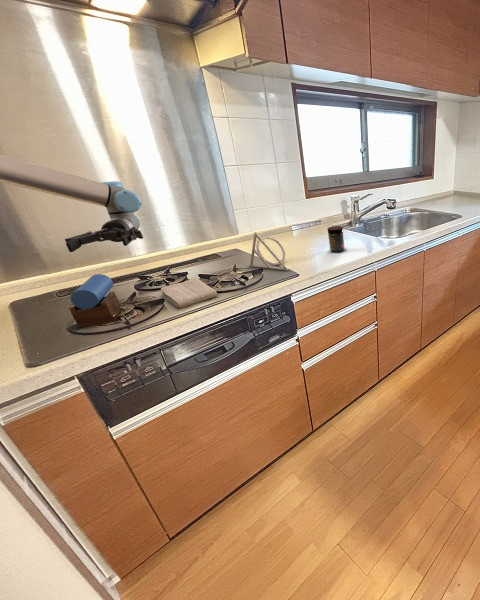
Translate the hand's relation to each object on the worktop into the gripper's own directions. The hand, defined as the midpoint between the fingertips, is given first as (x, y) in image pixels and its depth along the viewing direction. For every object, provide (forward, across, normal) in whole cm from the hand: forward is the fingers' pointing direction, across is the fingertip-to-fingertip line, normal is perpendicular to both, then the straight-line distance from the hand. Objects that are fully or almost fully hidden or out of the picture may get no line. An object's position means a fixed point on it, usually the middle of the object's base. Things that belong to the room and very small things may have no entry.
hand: (97, 244), depth 100 cm
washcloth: (+11, -22, -18) cm, 30 cm away
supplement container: (-14, -78, -18) cm, 81 cm away
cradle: (+17, 0, -18) cm, 25 cm away
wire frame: (-7, -50, -18) cm, 54 cm away
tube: (+15, 0, -10) cm, 18 cm away
